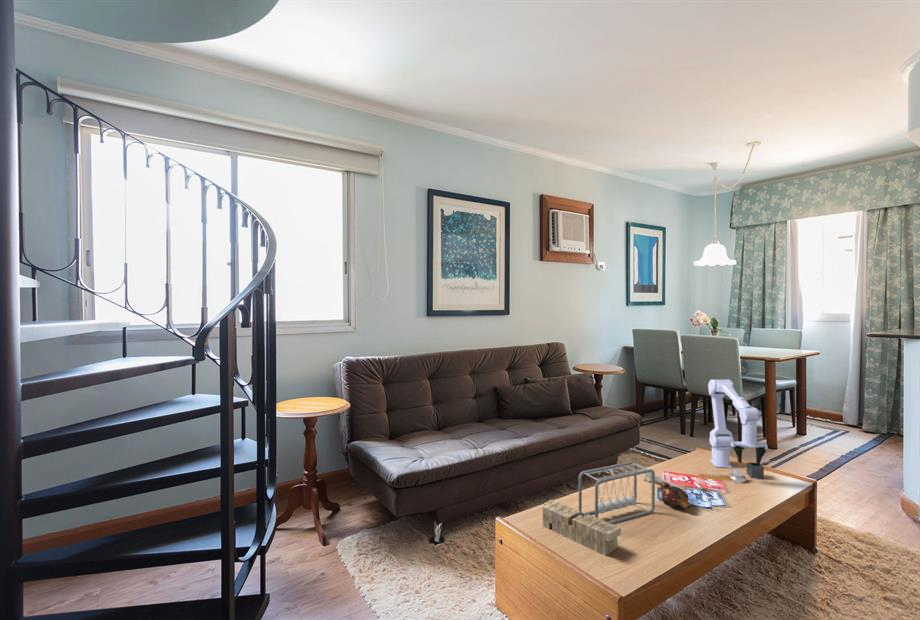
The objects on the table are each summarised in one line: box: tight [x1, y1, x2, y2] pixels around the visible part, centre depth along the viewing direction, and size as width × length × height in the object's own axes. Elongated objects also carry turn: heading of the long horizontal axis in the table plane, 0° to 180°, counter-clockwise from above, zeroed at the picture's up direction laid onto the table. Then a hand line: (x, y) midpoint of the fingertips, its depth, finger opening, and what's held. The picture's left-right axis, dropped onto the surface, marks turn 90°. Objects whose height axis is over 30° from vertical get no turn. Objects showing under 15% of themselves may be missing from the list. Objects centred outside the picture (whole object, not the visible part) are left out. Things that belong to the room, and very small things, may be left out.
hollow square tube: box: [746, 461, 765, 480], centre depth 213 cm, size 5×5×6 cm
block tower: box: [542, 499, 622, 556], centre depth 160 cm, size 8×8×29 cm
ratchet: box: [697, 467, 747, 484], centre depth 210 cm, size 20×7×5 cm, turn 78°
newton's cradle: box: [578, 461, 656, 524], centre depth 176 cm, size 30×10×18 cm, turn 114°
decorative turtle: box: [659, 482, 692, 510], centre depth 183 cm, size 10×15×8 cm, turn 23°
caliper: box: [643, 472, 688, 492], centre depth 202 cm, size 20×1×6 cm, turn 41°
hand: (748, 462), depth 206 cm, fingers open, 7 cm apart
